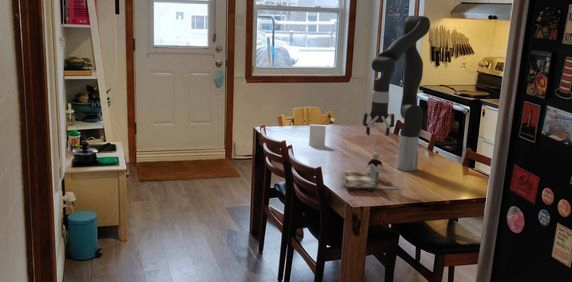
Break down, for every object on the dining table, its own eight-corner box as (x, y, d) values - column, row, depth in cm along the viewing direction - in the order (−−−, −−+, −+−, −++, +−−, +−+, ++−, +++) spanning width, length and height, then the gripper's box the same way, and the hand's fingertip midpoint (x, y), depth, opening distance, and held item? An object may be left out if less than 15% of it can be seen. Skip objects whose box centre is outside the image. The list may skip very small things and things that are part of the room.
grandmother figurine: (368, 179, 274) (370, 153, 271) (364, 177, 278) (366, 151, 275) (383, 179, 276) (385, 152, 273) (379, 176, 280) (382, 150, 277)
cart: (371, 183, 269) (373, 163, 266) (377, 192, 256) (378, 171, 254) (341, 182, 268) (342, 162, 266) (345, 191, 255) (346, 170, 253)
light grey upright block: (324, 144, 340) (326, 124, 337) (324, 148, 331) (325, 127, 329) (309, 143, 341) (310, 123, 338) (308, 147, 332) (309, 126, 329)
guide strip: (397, 187, 264) (397, 186, 264) (398, 189, 261) (399, 188, 261) (340, 185, 263) (340, 185, 263) (340, 187, 260) (341, 187, 260)
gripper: (393, 100, 273) (390, 134, 276) (363, 98, 272) (360, 133, 276) (397, 102, 265) (394, 137, 269) (366, 101, 265) (363, 136, 268)
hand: (377, 135), depth 272 cm, fingers open, 8 cm apart
